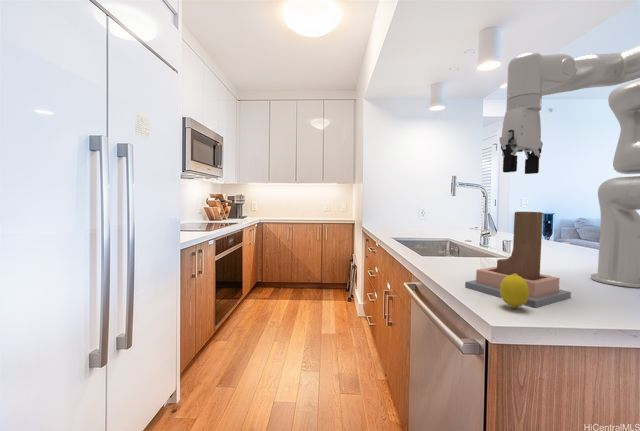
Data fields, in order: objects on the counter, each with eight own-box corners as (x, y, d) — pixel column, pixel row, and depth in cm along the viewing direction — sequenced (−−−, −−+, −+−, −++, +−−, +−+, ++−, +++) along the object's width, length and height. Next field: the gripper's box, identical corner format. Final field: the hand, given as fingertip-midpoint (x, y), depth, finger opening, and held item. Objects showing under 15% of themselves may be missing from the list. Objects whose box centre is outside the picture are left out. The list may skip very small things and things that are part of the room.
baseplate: (500, 280, 92) (500, 264, 92) (570, 297, 76) (571, 278, 76) (465, 287, 85) (465, 269, 84) (535, 307, 69) (536, 286, 68)
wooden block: (495, 275, 84) (498, 210, 83) (507, 274, 85) (510, 210, 84) (527, 284, 75) (531, 212, 74) (540, 282, 77) (543, 212, 76)
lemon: (494, 303, 71) (496, 270, 71) (519, 304, 71) (521, 271, 70) (506, 312, 66) (508, 276, 65) (533, 313, 65) (535, 277, 65)
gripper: (527, 114, 85) (524, 175, 86) (488, 105, 77) (486, 172, 78) (557, 107, 78) (554, 173, 79) (519, 96, 70) (516, 170, 71)
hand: (520, 172), depth 79 cm, fingers open, 9 cm apart
